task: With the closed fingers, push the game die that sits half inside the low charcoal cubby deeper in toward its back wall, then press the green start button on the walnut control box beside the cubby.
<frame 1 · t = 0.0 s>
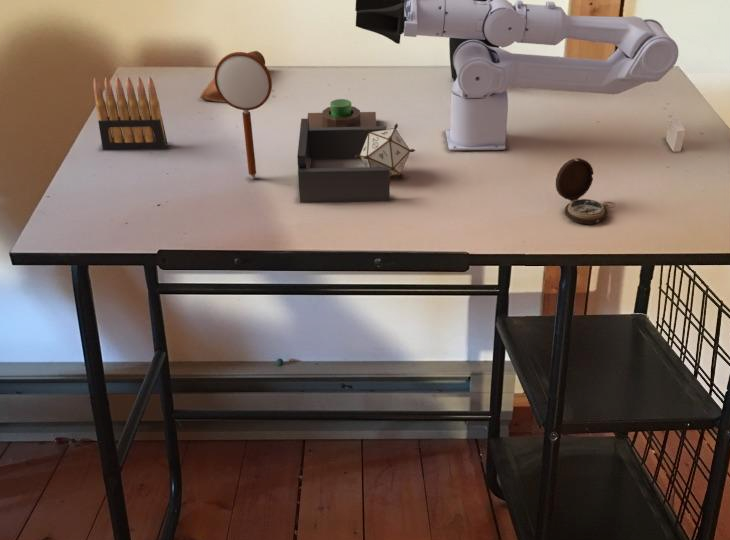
hand: (355, 11, 145), 22 cm above the table, tool horizontal, fingers open, 7 cm apart
eraser: (672, 146, 158), on the table
compass: (587, 213, 139), on the table
ammunition clip: (135, 148, 158), on the table
cubby: (347, 177, 149), on the table
sunglasses case: (234, 86, 180), on the table
magnifying glass: (253, 180, 149), on the table
control box: (341, 131, 163), on the table
start button: (341, 108, 160), point 4 cm above the table, slide at 0.1 cm
game die: (384, 178, 149), on the table
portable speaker: (472, 84, 180), on the table
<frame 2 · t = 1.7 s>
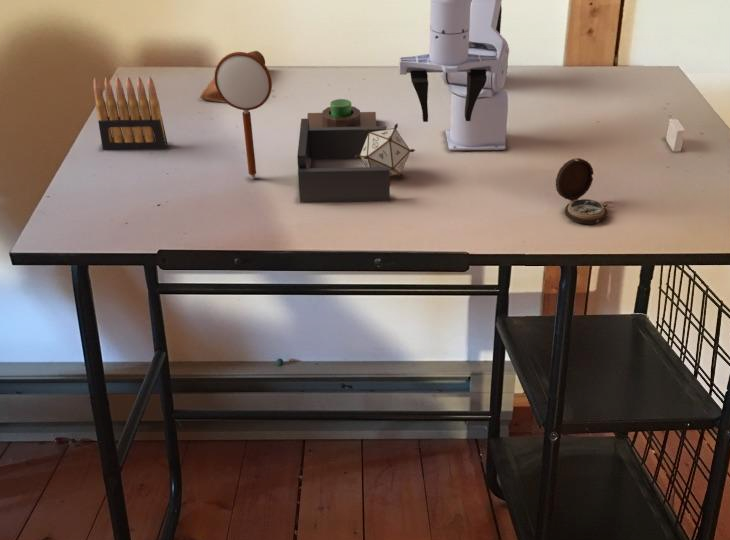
hand: (446, 119, 143), 9 cm above the table, tool pointing down, fingers open, 6 cm apart
nothing on the table moved.
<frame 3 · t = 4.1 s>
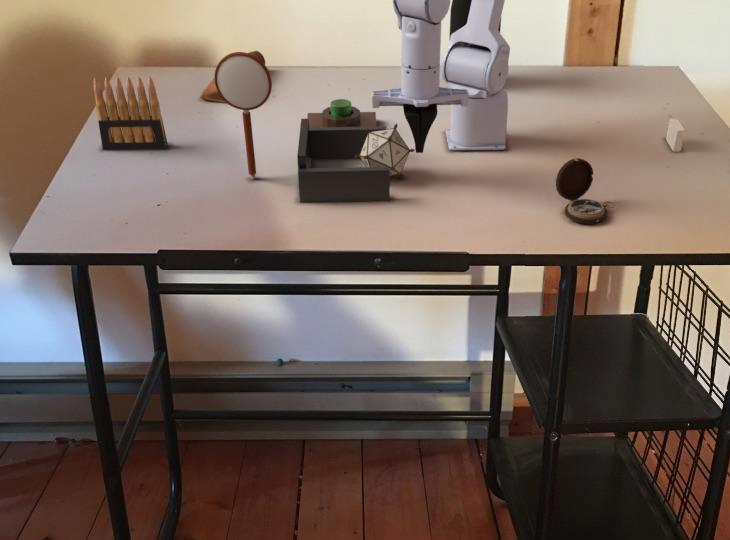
hand: (419, 150, 146), 4 cm above the table, tool pointing down, fingers closed
game die: (384, 178, 149), on the table, touching gripper
everything else where it was.
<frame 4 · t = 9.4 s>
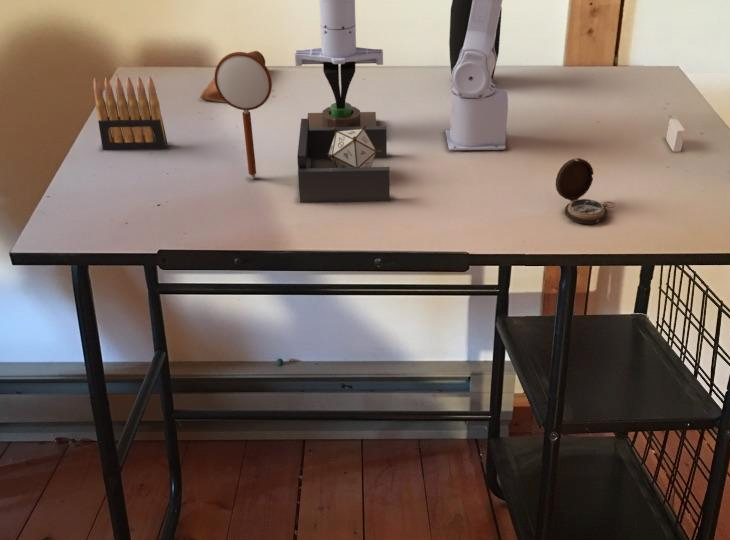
hand: (340, 106, 160), 5 cm above the table, tool pointing down, fingers closed, pressing on start button
start button: (341, 111, 160), point 4 cm above the table, slide at -0.4 cm, touching gripper
game die: (352, 177, 149), on the table
everything else where it was.
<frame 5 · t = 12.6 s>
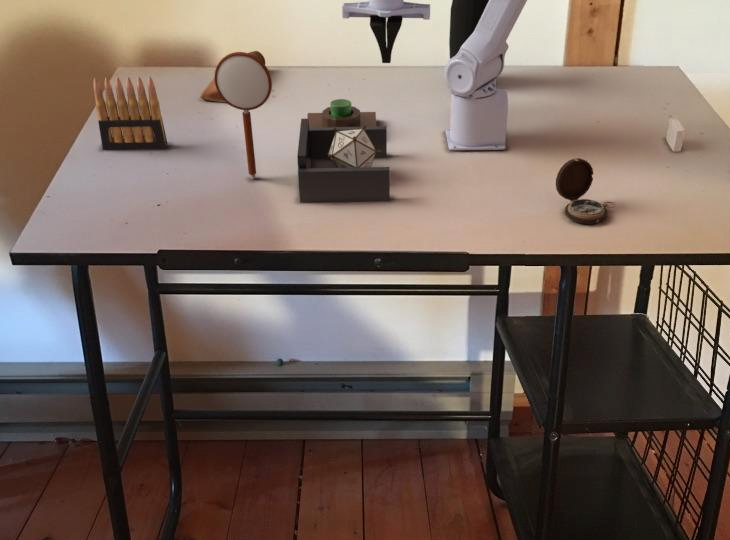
hand: (386, 61, 160), 10 cm above the table, tool pointing down, fingers closed
start button: (341, 108, 160), point 4 cm above the table, slide at 0.1 cm
everything else where it was.
at the end: game die inside the target area (2.7 cm from its centre), on the table; start button pushed in 1.0 cm at the most during the clip, back to where it started at the end; start button slide at 0.1 cm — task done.
